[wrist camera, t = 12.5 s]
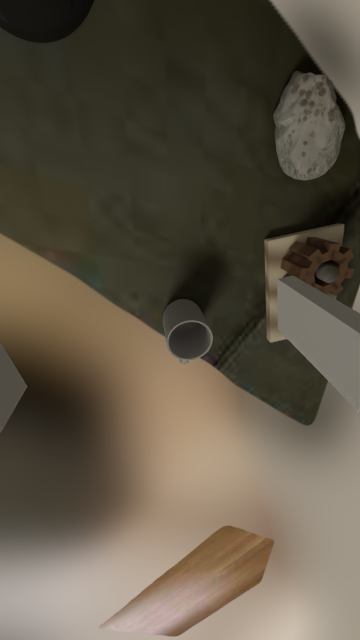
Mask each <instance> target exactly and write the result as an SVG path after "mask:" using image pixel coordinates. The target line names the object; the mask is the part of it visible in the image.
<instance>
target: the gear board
mask: <svg viewBox="0 0 360 640" xmlns="http://www.w3.org/2000/svg"><path fill="white" fill-rule="evenodd" d="M343 233H344V224H339V223H337V224H333V225H328V226H324V227H319V228H315V229H310V230H305V231H301V232H296V233H292V234H287V235H282V236H278V237H273V238H269V239H264V243H265V280H266V316H267V339H268V340H269V342H270V343H271V342H275V341H279V340H284V339H287V338H286V337H285V336H284V335H283V334H282V333H281V332H280V331H279V329H278V301H277V279H279V278H282V277H284V276H285V275H286V274H287V272H286V271H285V270H283V269H281V268H280V267H281V262H282V259H289V257H290V256H291V254H292V253H291V251H290V250H289V247H291V246H292V245H293V244H294V243H295V242H296V241H297V242H300V243H303V244H306V240H307V237H318V238H321V239H325V240H328V241H332V242H336V243H339V244H341V247H342V242H343ZM338 276H339V270H338V269H337V268H335V267H333V266H330V265H328V264H325V263H321V264H320V265H319V267H318V268H317V270H316V271H315V273H314V277H316V278H318V279H320V280H322V281H324V282H326V283H332V282H334V281H335V280H336V279H337V278H338ZM326 295H328V296H330V297H332V298H333V299H335V300H336V296H337V295H336V296H334V295H333V294H331V293H329V292H328V293H326Z"/></svg>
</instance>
